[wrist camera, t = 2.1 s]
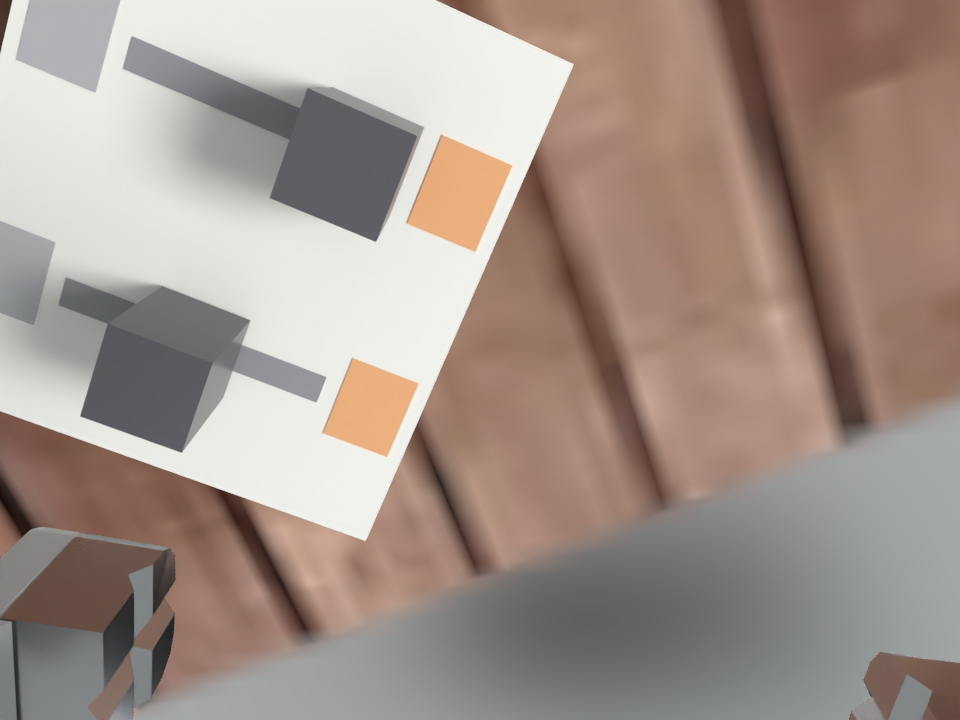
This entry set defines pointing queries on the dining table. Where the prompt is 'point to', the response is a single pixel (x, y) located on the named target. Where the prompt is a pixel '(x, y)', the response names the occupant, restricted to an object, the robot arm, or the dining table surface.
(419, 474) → the dining table surface
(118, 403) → the block
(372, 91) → the breaker panel
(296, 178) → the block
